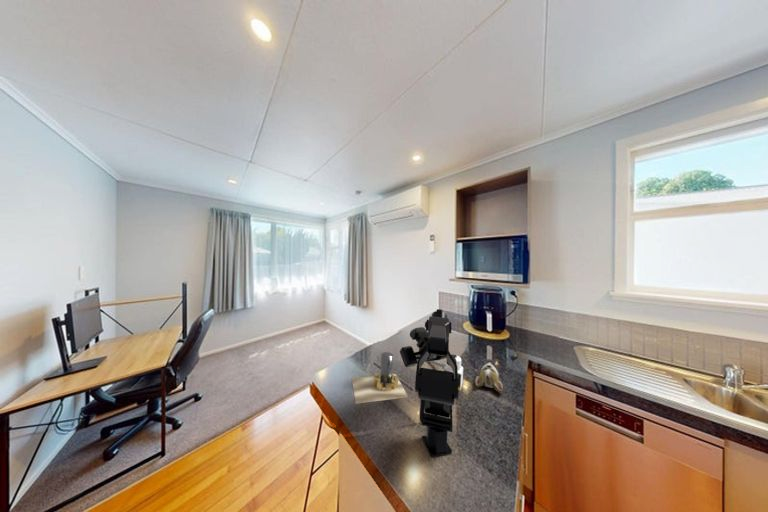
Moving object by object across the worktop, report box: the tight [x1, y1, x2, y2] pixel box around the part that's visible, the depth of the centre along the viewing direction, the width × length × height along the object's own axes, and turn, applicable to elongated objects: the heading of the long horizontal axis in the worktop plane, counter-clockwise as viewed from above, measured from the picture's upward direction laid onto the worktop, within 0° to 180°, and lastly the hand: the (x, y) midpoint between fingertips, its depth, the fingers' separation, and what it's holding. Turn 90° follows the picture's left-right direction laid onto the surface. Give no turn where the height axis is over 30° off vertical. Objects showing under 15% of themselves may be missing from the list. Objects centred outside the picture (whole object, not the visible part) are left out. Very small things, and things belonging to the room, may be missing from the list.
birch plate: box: [351, 373, 409, 405], centre depth 86 cm, size 17×20×1 cm
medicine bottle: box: [443, 354, 464, 392], centre depth 91 cm, size 7×7×12 cm
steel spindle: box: [379, 351, 394, 387], centre depth 88 cm, size 5×5×12 cm
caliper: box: [427, 360, 447, 370], centre depth 104 cm, size 21×1×6 cm, turn 20°
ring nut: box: [373, 372, 399, 391], centre depth 88 cm, size 10×10×2 cm
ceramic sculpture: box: [474, 361, 504, 394], centre depth 92 cm, size 11×9×15 cm
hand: (414, 362), depth 82 cm, fingers open, 9 cm apart
